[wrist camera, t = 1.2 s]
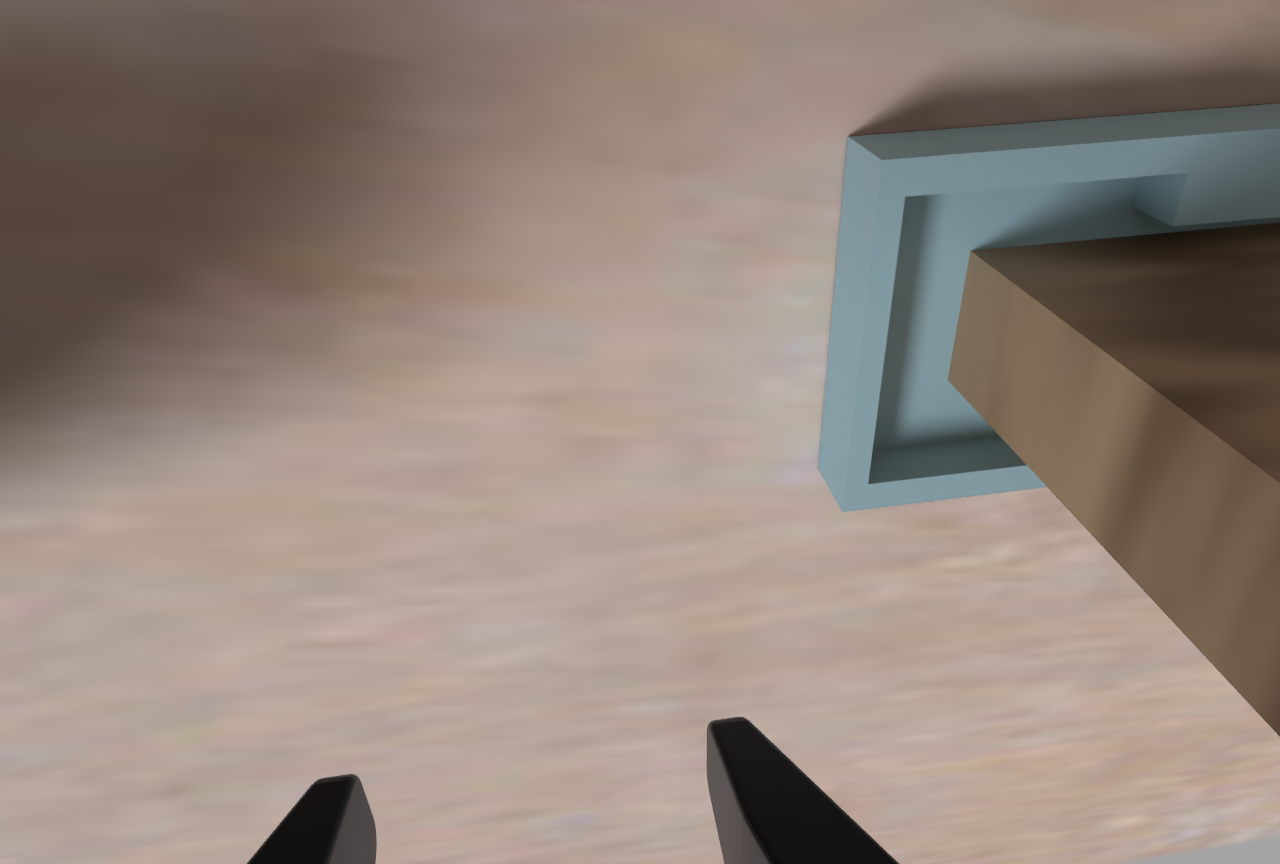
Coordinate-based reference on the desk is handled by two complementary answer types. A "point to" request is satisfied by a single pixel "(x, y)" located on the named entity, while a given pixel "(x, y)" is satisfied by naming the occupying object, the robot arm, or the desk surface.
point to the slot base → (988, 219)
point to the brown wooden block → (1149, 416)
